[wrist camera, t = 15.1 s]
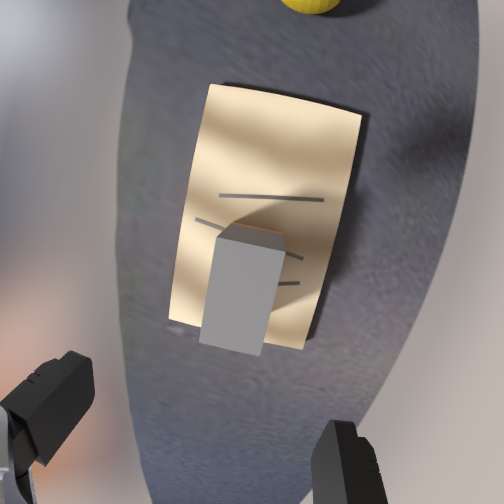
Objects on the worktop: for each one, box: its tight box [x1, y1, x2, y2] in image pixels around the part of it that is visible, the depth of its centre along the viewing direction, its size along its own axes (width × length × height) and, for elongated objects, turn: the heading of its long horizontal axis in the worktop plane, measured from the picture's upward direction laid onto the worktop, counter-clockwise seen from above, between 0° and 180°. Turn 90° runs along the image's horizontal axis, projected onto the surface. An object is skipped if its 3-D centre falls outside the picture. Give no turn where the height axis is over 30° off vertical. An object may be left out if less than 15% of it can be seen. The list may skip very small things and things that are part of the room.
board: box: [169, 84, 362, 349], centre depth 24 cm, size 20×12×1 cm, turn 168°
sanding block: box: [199, 222, 286, 356], centre depth 22 cm, size 7×4×6 cm, turn 168°
